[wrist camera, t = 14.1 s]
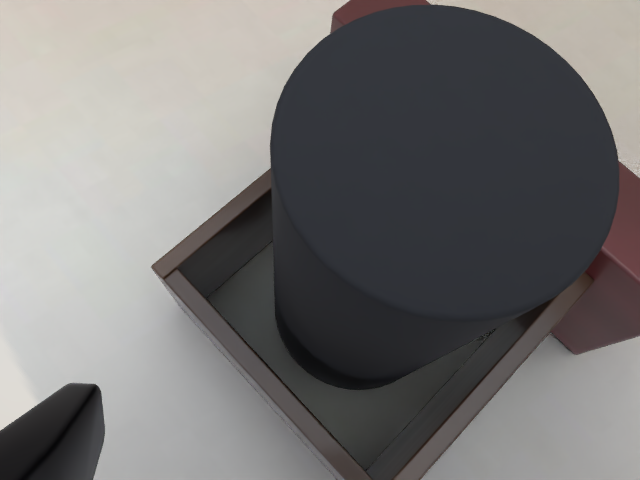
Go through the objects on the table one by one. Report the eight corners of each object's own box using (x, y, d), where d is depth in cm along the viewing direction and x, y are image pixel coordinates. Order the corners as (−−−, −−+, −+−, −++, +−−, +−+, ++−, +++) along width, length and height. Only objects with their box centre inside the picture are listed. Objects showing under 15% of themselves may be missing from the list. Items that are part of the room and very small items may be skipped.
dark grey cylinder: (458, 364, 15) (685, 267, 7) (298, 410, 15) (326, 367, 6) (406, 215, 17) (540, -23, 8) (257, 251, 16) (233, 32, 7)
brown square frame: (406, 556, 14) (464, 607, 9) (139, 262, 16) (87, 194, 11) (617, 306, 16) (738, 258, 12) (363, 79, 18) (390, -32, 14)
